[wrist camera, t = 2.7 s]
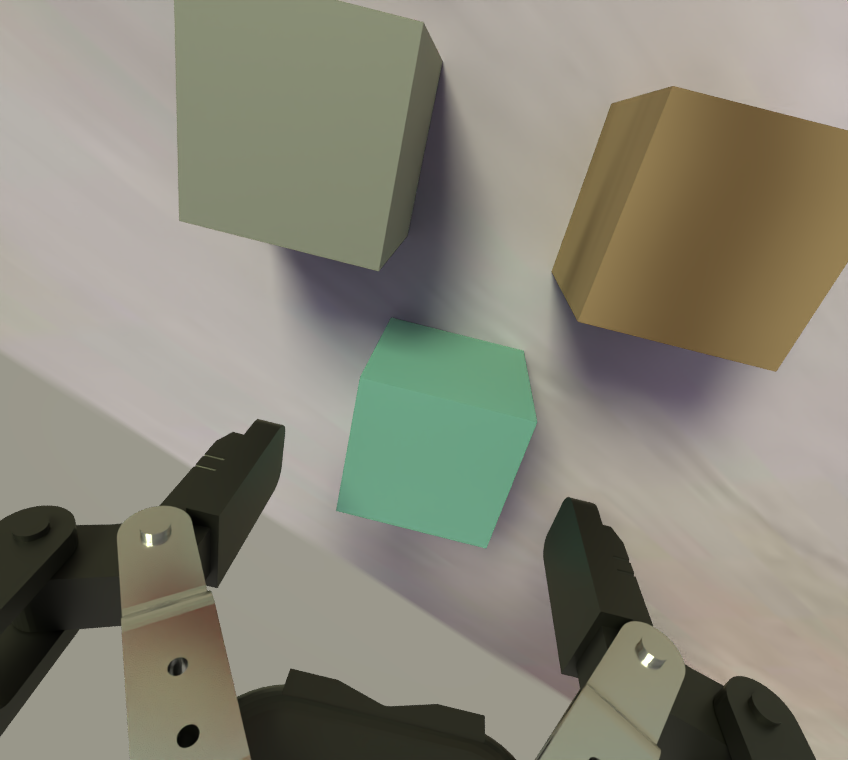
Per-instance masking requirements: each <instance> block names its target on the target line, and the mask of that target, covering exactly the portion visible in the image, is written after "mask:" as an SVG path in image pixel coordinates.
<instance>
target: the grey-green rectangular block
mask: <svg viewBox="0 0 848 760" xmlns="http://www.w3.org/2000/svg"><path fill="white" fill-rule="evenodd" d="M174 14H175V58H176V102H177V145H178V189H179V221H182V222H186V223H190V224H194V225H198V226H202V227H206V228H210V229H214V230H217V231H221V232H225V233H229V234H233V235H237V236H241V237H245V238H249V239H253V240H257V241H261V242H265V243H269V244H273V245H277V246H281V247H285V248H289V249H293V250H297V251H300V252H304V253H308V254H312V255H316V256H320V257H324V258H328V259H332V260H336V261H340V262H344V263H348V264H352V265H356V266H360V267H364V268H368V269H372V270H376V271H379V270H380V269H381V268H382V267H383V265H384V264H385V263H386V262H387V260H388V259H389V258H390V257H391V255H392V254H393V253H394V252H395V250H396V249H397V248H398V247H399V246H400V244H401V243H402V242H403V241H404V239H405V238H406V237H407V236H408V231H409V226H410V221H411V216H412V211H413V206H414V201H415V196H416V191H417V186H418V181H419V176H420V171H421V166H422V161H423V156H424V151H425V146H426V141H427V136H428V131H429V127H430V122H431V117H432V112H433V107H434V102H435V97H436V92H437V87H438V82H439V77H440V72H441V67H442V62H443V61H442V59H441V57H440V55H439V53H438V51H437V49H436V47H435V45H434V43H433V41H432V38H431V36H430V34H429V32H428V30H427V28H426V26H425V24H424V22H420V21H416V20H413V19H409V18H405V17H401V16H397V15H393V14H389V13H385V12H381V11H377V10H373V9H369V8H365V7H361V6H358V5H354V4H350V3H346V2H342V1H338V0H174Z"/></svg>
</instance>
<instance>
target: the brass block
mask: <svg viewBox="0 0 848 760" xmlns="http://www.w3.org/2000/svg"><path fill="white" fill-rule="evenodd" d="M847 262H848V130H844V129H840V128H836V127H832V126H828V125H824V124H820V123H816V122H812V121H808V120H804V119H801V118H797V117H793V116H789V115H785V114H781V113H777V112H773V111H769V110H765V109H761V108H757V107H753V106H749V105H745V104H741V103H738V102H734V101H730V100H726V99H722V98H718V97H714V96H710V95H706V94H702V93H698V92H694V91H690V90H686V89H682V88H678V87H675V86H671V87H668V88H664V89H661V90H657V91H654V92H650V93H647V94H643V95H640V96H637V97H633V98H630V99H626V100H623V101H619V102H616V103H612V104H611V106H610V109H609V112H608V115H607V118H606V120H605V123H604V126H603V129H602V132H601V135H600V137H599V140H598V143H597V146H596V149H595V151H594V154H593V157H592V160H591V163H590V165H589V168H588V171H587V174H586V177H585V179H584V182H583V185H582V188H581V191H580V194H579V196H578V199H577V202H576V205H575V208H574V210H573V213H572V216H571V219H570V222H569V224H568V227H567V230H566V233H565V236H564V238H563V241H562V244H561V247H560V250H559V252H558V255H557V258H556V261H555V264H554V267H553V269H552V273H553V275H554V277H555V279H556V281H557V283H558V285H559V287H560V289H561V291H562V292H563V294H564V296H565V298H566V300H567V302H568V304H569V306H570V308H571V310H572V312H573V313H574V315H575V317H576V319H577V321H578V322H581V323H585V324H589V325H593V326H597V327H601V328H605V329H609V330H613V331H617V332H621V333H625V334H629V335H633V336H637V337H641V338H645V339H649V340H653V341H656V342H660V343H664V344H668V345H672V346H676V347H680V348H684V349H688V350H692V351H696V352H700V353H704V354H708V355H712V356H716V357H720V358H724V359H728V360H732V361H736V362H740V363H744V364H748V365H752V366H756V367H760V368H764V369H767V370H771V371H775V372H776V371H777V370H778V368H779V366H780V365H781V363H782V362H783V360H784V359H785V357H786V356H787V354H788V353H789V351H790V350H791V348H792V347H793V345H794V344H795V342H796V340H797V339H798V337H799V336H800V334H801V333H802V331H803V330H804V328H805V327H806V325H807V324H808V322H809V321H810V319H811V317H812V316H813V314H814V313H815V311H816V310H817V308H818V307H819V305H820V304H821V302H822V301H823V299H824V298H825V296H826V295H827V293H828V291H829V290H830V288H831V287H832V285H833V284H834V282H835V281H836V279H837V278H838V276H839V275H840V273H841V272H842V270H843V269H844V267H845V265H846V264H847Z"/></svg>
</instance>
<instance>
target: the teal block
mask: <svg viewBox="0 0 848 760" xmlns="http://www.w3.org/2000/svg"><path fill="white" fill-rule="evenodd" d="M536 424H537V418H536V413H535V408H534V403H533V398H532V392H531V387H530V382H529V377H528V371H527V366H526V361H525V356H524V351H522V350H518V349H514V348H510V347H506V346H502V345H498V344H494V343H490V342H486V341H482V340H478V339H474V338H470V337H467V336H463V335H459V334H455V333H451V332H447V331H443V330H439V329H435V328H431V327H427V326H423V325H419V324H415V323H411V322H407V321H403V320H399V319H395V318H391V319H390V321H389V323H388V325H387V327H386V328H385V330H384V332H383V334H382V336H381V338H380V340H379V342H378V344H377V346H376V348H375V350H374V351H373V353H372V355H371V357H370V359H369V361H368V363H367V365H366V367H365V369H364V371H363V373H362V375H361V376H360V380H359V386H358V391H357V397H356V402H355V408H354V414H353V419H352V425H351V430H350V436H349V442H348V447H347V453H346V458H345V464H344V470H343V475H342V481H341V486H340V492H339V498H338V503H337V509H336V511H339V512H343V513H347V514H351V515H355V516H359V517H363V518H367V519H371V520H375V521H379V522H383V523H387V524H391V525H395V526H399V527H403V528H407V529H411V530H415V531H418V532H422V533H426V534H430V535H434V536H438V537H442V538H446V539H450V540H454V541H458V542H462V543H466V544H470V545H474V546H478V547H482V548H487V545H488V543H489V541H490V538H491V536H492V533H493V531H494V528H495V526H496V523H497V521H498V518H499V516H500V513H501V511H502V508H503V506H504V503H505V501H506V498H507V496H508V493H509V491H510V488H511V486H512V483H513V481H514V479H515V476H516V474H517V471H518V469H519V466H520V464H521V461H522V459H523V456H524V454H525V451H526V449H527V446H528V444H529V441H530V439H531V436H532V434H533V431H534V429H535V426H536Z"/></svg>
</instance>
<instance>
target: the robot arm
mask: <svg viewBox="0 0 848 760" xmlns="http://www.w3.org/2000/svg"><path fill="white" fill-rule="evenodd" d="M284 439H285V426H284V425H280V424H276V423H272V422H268V421H264V420H260V419H257V420H256V421H255V422H254V423H253V424H252V425H251V427H250V428H249V429H248V430H247V432H246V433H245V434H244V435H243V434H239V433H235V432H232V433H230V434H228V435H226V436H225V437H223V438H221V439H219V440H217V441H216V442H215V443H214V444H213V445H212V446H211V447H210V448H209V450H208V451H207V452H206V453H205V456H203V457H202V458H201V459H200V460H199V461H198V462H197V463H196V466H195V467H193V468H192V469H191V470H190V471H189V473H188V474H187V475H186V476H185V477H184V478H183V480H182V481H181V482H180V483H179V484H178V485H177V486H176V487H175V489H174V490H173V491H172V492H171V493H170V494H169V496H168V497H167V498H166V499H165V500H164V501H163V503H162V504H161V505H160V506H156V507H150V508H146V509H144V510H141V511H139V512H137V513H135V514H133V515H132V516H130V517H129V518H128V519H126V520H125V521H124V522H123V523H122V524H112V525H76V523H75V519H74V516H73V515H72V513H71V512H69V511H68V510H66V509H64V508H61V507H58V506H36V507H31V508H27V509H23V510H20V511H18V512H15V513H13V514H11V515H9V516H7V517H5V518H4V519H2V520H1V521H0V736H1V735H2V734H3V732H4V731H5V729H6V728H7V727H8V725H9V724H10V723H11V721H12V720H13V719H14V717H15V716H16V715H17V713H18V712H19V711H20V709H21V708H22V707H23V705H24V704H25V702H26V701H27V700H28V698H29V697H30V696H31V694H32V693H33V692H34V690H35V689H36V688H37V686H38V685H39V684H40V682H41V681H42V679H43V678H44V677H45V675H46V674H47V673H48V671H49V670H50V668H51V667H52V666H53V665H54V663H55V662H56V660H57V659H58V658H59V656H60V655H61V654H62V652H63V651H64V650H65V648H66V647H67V646H68V644H69V643H70V641H71V640H72V639H73V638H74V636H75V635H76V633H77V632H78V631H79V629H86V628H98V627H110V626H121V629H122V645H123V661H124V677H125V693H126V708H127V725H128V740H129V756H130V760H516V759H515V758H514V757H513V756H512V755H511V754H510V753H509V752H508V751H507V750H506V749H505V748H504V747H503V746H502V745H500V744H499V743H498V742H496V741H495V740H494V739H492V738H491V737H489V736H487V735H486V734H485V716H484V715H480V714H476V713H472V712H467V711H463V710H459V709H455V708H451V707H447V706H442V705H439V704H431V705H410V706H384V705H382V704H380V703H378V702H376V701H374V700H373V699H371V698H369V697H367V696H366V695H364V694H362V693H360V692H358V691H357V690H355V689H353V688H351V687H350V686H348V685H346V684H344V683H342V682H341V681H339V680H336V679H332V678H327V677H323V676H319V675H315V674H311V673H307V672H303V671H299V670H295V669H290V671H289V674H288V677H287V680H286V683H285V684H284V685H273V686H267V687H262V688H259V689H256V690H252V691H249V692H247V693H245V694H242V695H240V696H238V697H237V696H236V692H235V688H234V684H233V679H232V675H231V671H230V666H229V662H228V658H227V654H226V649H225V645H224V640H223V636H222V632H221V627H220V623H219V619H218V615H217V610H216V606H215V601H214V598H213V595H212V592H211V591H207V587H206V586H211V587H215V588H218V586H219V584H220V583H221V581H222V579H223V578H224V576H225V574H226V572H227V570H228V569H229V567H230V565H231V564H232V562H233V560H234V559H235V557H236V555H237V554H238V552H239V550H240V548H241V547H242V545H243V543H244V542H245V540H246V538H247V536H248V535H249V533H250V531H251V529H252V528H253V526H254V524H255V523H256V521H257V519H258V517H259V516H260V514H261V512H262V511H263V509H264V507H265V506H266V504H267V502H268V500H269V499H270V497H271V495H272V494H273V492H274V490H275V488H276V486H277V483H278V480H279V477H280V473H281V467H282V458H283V448H284ZM543 558H544V565H545V571H546V578H547V584H548V591H549V597H550V603H551V610H552V616H553V623H554V629H555V636H556V642H557V648H558V655H559V661H560V668H561V674H564V675H568V676H572V677H576V678H578V679H579V684H580V690H579V691H578V693H577V694H576V696H575V697H574V699H573V701H572V702H571V704H570V705H569V707H568V709H567V710H566V712H565V713H564V715H563V717H562V718H561V720H560V721H559V723H558V724H557V726H556V727H555V729H554V731H553V732H552V734H551V735H550V737H549V738H548V740H547V742H546V743H545V745H544V746H543V748H542V750H541V751H540V753H539V754H538V756H537V757H536V759H535V760H816V758H815V756H814V754H813V752H812V750H811V748H810V746H809V744H808V742H807V740H806V738H805V736H804V734H803V732H802V730H801V728H800V726H799V724H798V722H797V721H796V719H795V717H794V715H793V714H792V712H791V711H790V710H789V708H788V707H787V706H786V705H785V703H784V702H783V701H782V700H781V699H780V698H779V697H778V696H777V695H776V694H774V693H773V692H772V691H771V690H770V689H768V688H767V687H766V686H764V685H762V684H761V683H759V682H757V681H755V680H753V679H750V678H748V677H743V676H736V677H733V678H731V679H730V680H729V681H728V682H727V683H726V684H725V685H724V686H723V685H721V684H719V683H717V682H716V681H714V680H712V679H710V678H708V677H706V676H704V675H703V674H701V673H699V672H697V671H695V670H693V669H692V668H690V667H688V666H687V665H685V664H684V661H683V658H682V656H681V654H680V652H679V650H678V649H677V647H676V646H675V645H674V644H673V642H672V641H671V640H670V639H669V638H668V637H667V636H666V635H665V634H663V633H662V632H661V631H659V630H658V629H656V628H655V627H653V624H652V621H651V619H650V616H649V613H648V610H647V608H646V605H645V602H644V599H643V596H642V594H641V591H640V588H639V585H638V582H637V580H636V577H634V571H633V569H632V566H631V563H629V557H628V555H627V552H626V549H625V546H624V544H623V542H622V541H621V539H620V538H619V537H618V536H617V534H616V533H615V532H614V530H613V529H612V528H611V527H609V526H605V525H603V524H602V521H601V518H600V515H599V511H598V508H597V506H596V505H595V504H594V503H590V502H586V501H582V500H578V499H574V498H570V497H567V498H566V499H565V500H564V501H563V503H562V505H561V507H560V509H559V511H558V513H557V515H556V518H555V520H554V522H553V524H552V526H551V528H550V530H549V532H548V534H547V536H546V539H545V543H544V550H543Z"/></svg>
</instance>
